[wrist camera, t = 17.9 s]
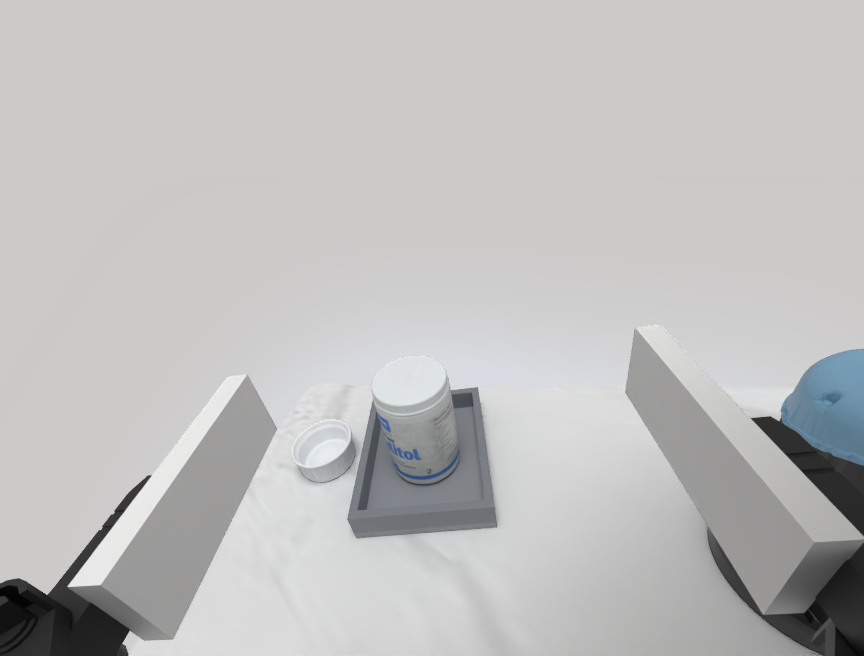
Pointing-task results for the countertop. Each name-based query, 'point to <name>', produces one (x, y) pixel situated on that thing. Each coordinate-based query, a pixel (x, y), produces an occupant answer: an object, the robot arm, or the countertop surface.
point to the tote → (424, 503)
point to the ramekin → (324, 450)
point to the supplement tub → (417, 418)
